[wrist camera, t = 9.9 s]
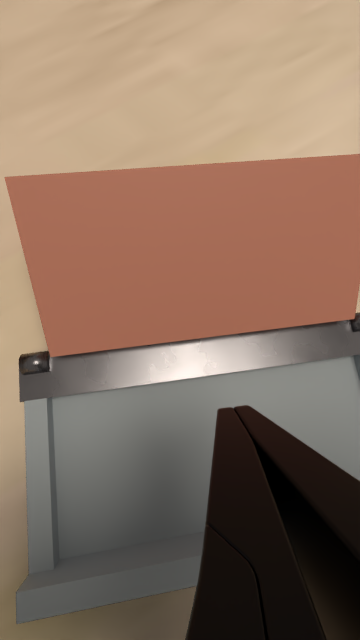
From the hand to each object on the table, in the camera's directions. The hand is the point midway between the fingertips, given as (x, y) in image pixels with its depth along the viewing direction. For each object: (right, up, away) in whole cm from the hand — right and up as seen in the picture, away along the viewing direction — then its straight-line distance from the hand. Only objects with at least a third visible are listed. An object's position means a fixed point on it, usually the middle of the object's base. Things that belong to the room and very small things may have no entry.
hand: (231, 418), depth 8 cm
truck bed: (+1, -4, +8) cm, 9 cm away
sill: (0, +1, +9) cm, 10 cm away
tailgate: (0, +2, +7) cm, 8 cm away
